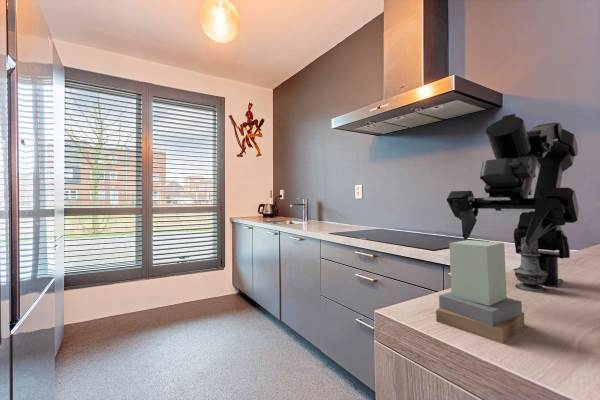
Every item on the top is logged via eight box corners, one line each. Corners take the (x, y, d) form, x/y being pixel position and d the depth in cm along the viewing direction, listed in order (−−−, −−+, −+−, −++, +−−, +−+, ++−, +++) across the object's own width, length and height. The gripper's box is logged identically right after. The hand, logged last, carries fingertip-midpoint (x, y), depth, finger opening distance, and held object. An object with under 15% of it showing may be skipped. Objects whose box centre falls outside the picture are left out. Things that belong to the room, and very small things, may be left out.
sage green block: (469, 290, 49) (467, 240, 49) (506, 298, 44) (504, 242, 44) (451, 296, 46) (449, 242, 46) (489, 305, 41) (486, 246, 41)
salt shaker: (555, 293, 58) (553, 234, 58) (521, 291, 59) (519, 233, 59) (539, 284, 63) (537, 230, 63) (508, 283, 65) (507, 230, 65)
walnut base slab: (462, 311, 51) (461, 297, 51) (524, 329, 44) (524, 312, 44) (436, 325, 45) (436, 309, 45) (502, 348, 38) (502, 329, 38)
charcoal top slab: (468, 298, 50) (468, 287, 50) (521, 314, 43) (521, 301, 43) (439, 307, 46) (439, 295, 46) (492, 326, 39) (491, 311, 39)
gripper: (450, 152, 59) (422, 207, 52) (573, 135, 44) (557, 209, 37) (467, 190, 64) (444, 245, 57) (584, 186, 49) (571, 260, 42)
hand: (493, 240), depth 48 cm, fingers open, 9 cm apart
